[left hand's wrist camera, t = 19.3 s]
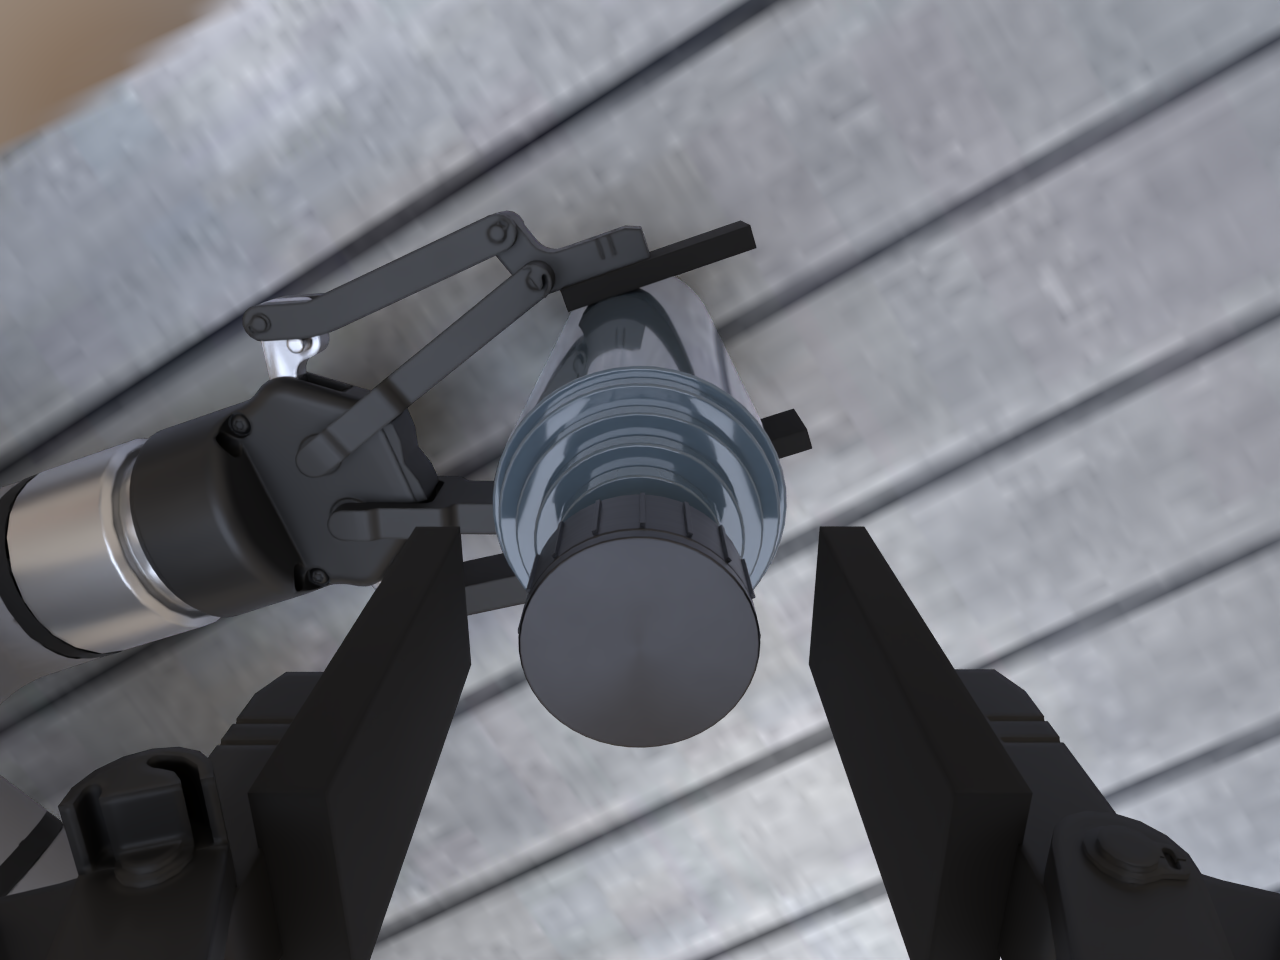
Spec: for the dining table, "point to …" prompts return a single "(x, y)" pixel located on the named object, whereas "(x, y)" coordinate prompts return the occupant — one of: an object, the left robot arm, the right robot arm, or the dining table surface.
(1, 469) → the dining table surface
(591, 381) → the bottle
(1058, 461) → the dining table surface
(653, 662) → the cap
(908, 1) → the dining table surface
